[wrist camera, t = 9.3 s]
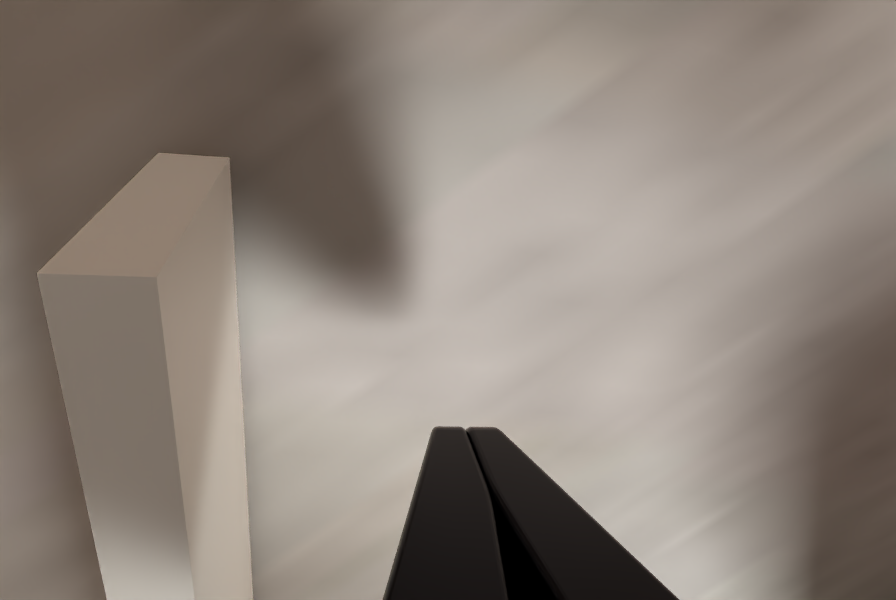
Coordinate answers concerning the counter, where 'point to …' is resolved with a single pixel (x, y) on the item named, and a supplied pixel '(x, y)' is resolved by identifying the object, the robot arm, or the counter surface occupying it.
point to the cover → (157, 382)
